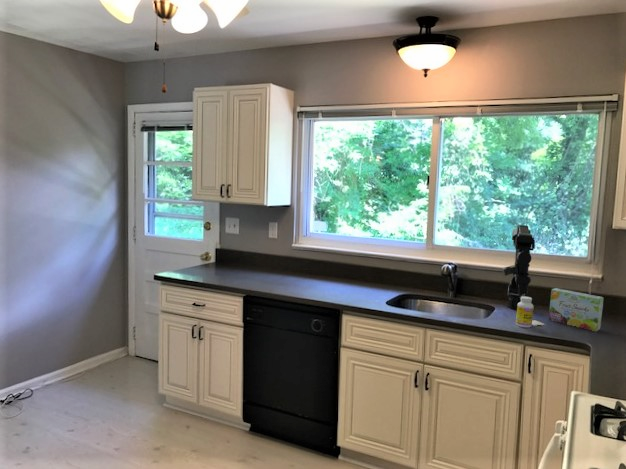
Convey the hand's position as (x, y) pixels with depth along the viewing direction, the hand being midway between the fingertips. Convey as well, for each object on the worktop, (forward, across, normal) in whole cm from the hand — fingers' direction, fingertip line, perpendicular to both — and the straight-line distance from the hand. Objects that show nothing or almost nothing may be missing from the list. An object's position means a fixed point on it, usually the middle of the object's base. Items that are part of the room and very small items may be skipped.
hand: (519, 293), depth 256 cm
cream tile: (+11, +10, +6) cm, 16 cm away
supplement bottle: (+11, +16, +1) cm, 20 cm away
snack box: (+11, +5, +24) cm, 27 cm away
